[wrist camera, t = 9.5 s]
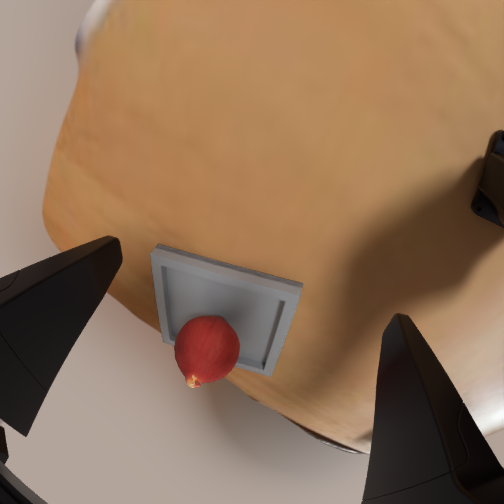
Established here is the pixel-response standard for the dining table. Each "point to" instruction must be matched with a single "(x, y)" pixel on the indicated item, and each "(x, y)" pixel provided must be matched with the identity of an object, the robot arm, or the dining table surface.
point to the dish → (225, 302)
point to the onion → (206, 349)
